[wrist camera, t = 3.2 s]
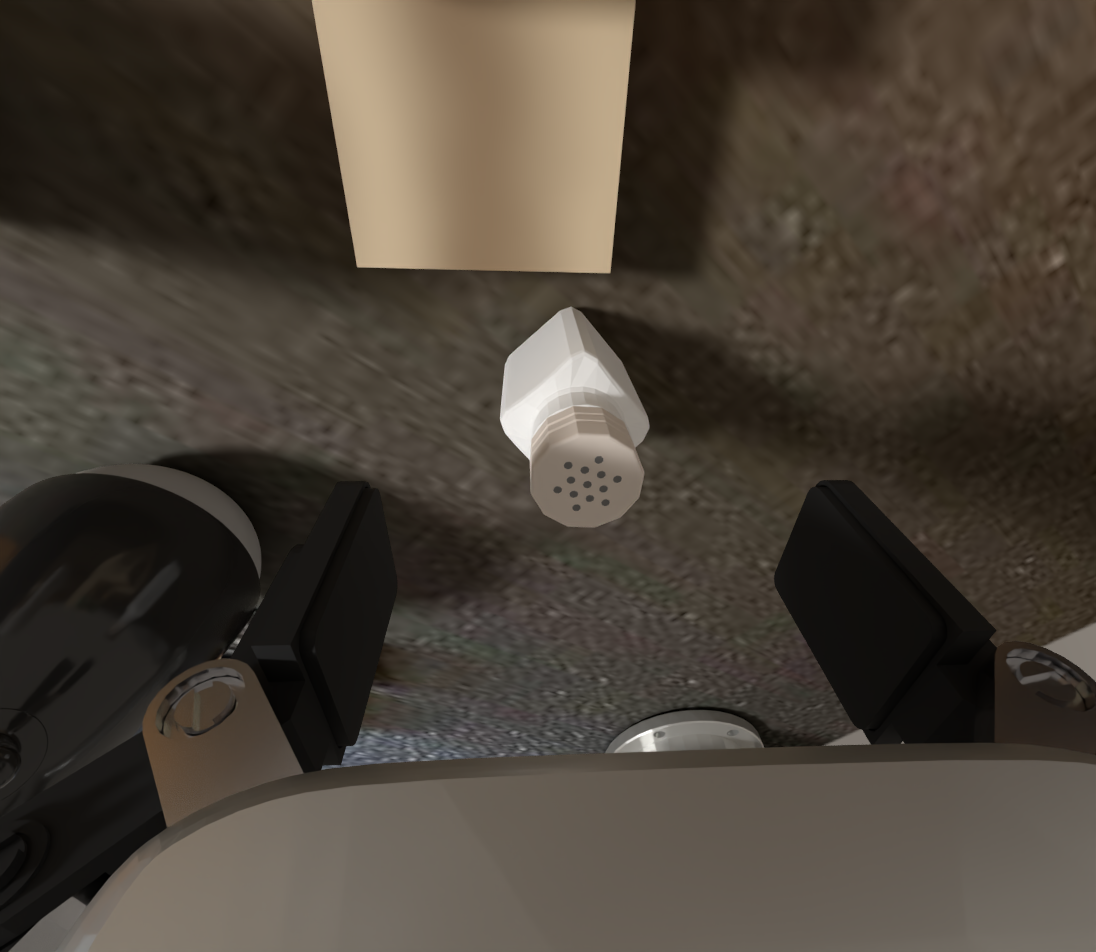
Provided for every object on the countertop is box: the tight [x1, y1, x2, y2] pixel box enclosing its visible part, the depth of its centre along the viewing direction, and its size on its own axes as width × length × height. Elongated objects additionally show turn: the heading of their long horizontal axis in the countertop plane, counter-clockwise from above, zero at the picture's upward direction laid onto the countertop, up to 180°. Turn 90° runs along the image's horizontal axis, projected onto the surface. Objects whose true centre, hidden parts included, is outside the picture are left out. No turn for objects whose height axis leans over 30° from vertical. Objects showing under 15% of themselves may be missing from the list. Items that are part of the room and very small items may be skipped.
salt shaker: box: [500, 307, 650, 527], centre depth 18 cm, size 4×4×10 cm
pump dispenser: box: [0, 464, 261, 818], centre depth 19 cm, size 10×10×15 cm
